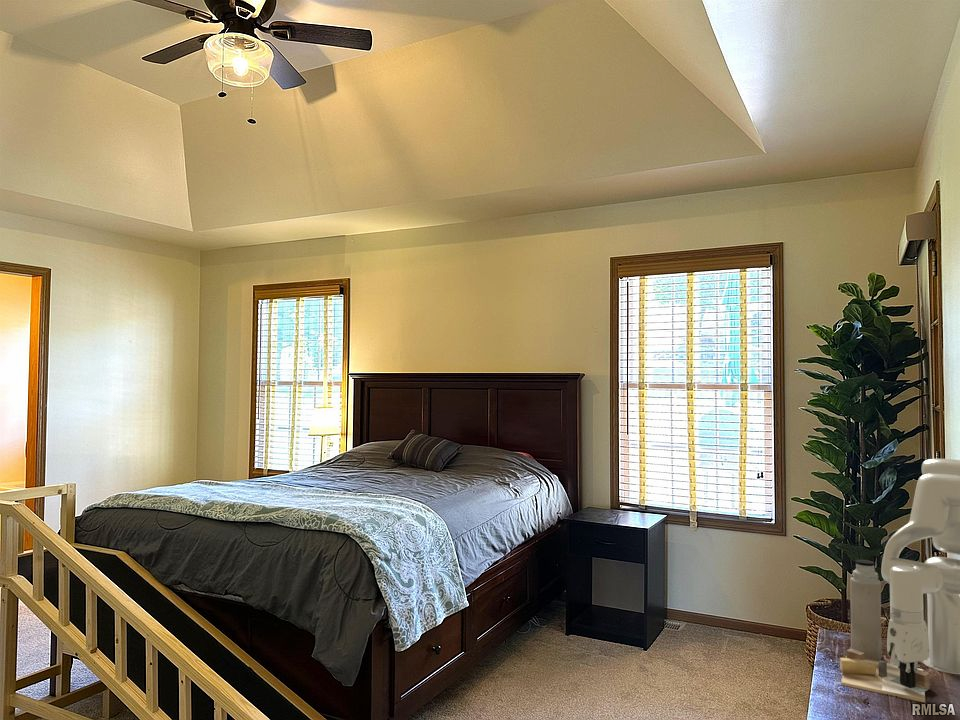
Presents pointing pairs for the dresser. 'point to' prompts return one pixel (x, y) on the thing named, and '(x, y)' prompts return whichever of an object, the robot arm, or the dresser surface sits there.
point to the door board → (886, 679)
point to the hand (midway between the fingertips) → (907, 685)
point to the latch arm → (857, 666)
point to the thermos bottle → (866, 610)
